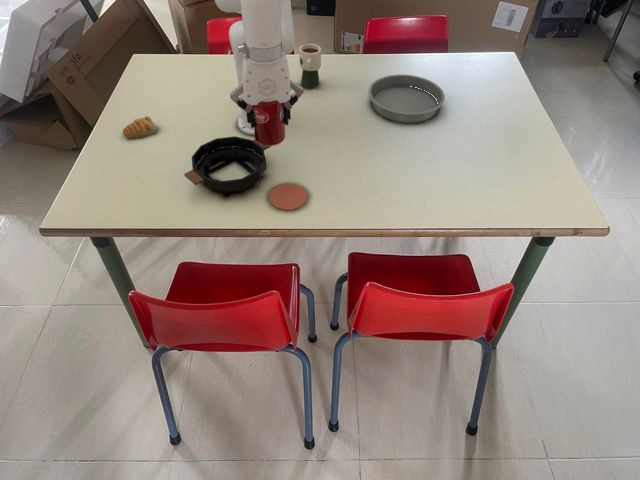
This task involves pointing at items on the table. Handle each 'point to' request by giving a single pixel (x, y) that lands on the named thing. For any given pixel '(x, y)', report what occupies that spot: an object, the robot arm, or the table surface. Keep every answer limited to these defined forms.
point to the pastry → (139, 128)
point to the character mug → (310, 64)
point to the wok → (232, 153)
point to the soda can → (269, 122)
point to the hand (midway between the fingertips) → (269, 122)
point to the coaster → (288, 197)
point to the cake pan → (405, 98)
